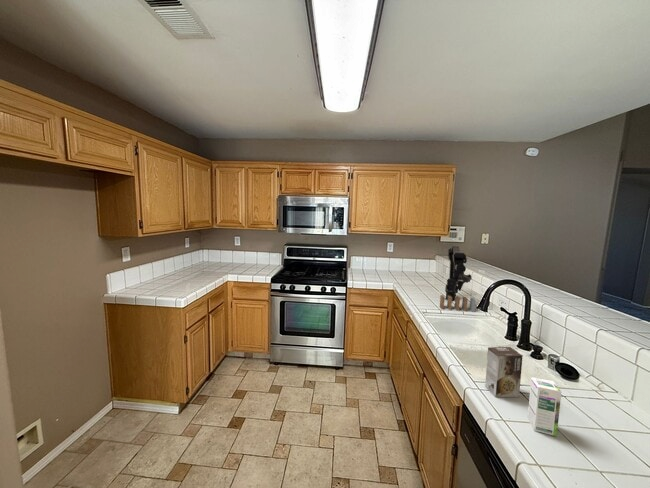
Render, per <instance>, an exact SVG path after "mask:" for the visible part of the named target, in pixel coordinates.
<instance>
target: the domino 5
mask: <svg viewBox="0 0 650 488" xmlns="http://www.w3.org/2000/svg"><path fill="white" fill-rule="evenodd" d="M469 299H470V300H469V311H470V312H472V313H475V311H476V310H475V309H476V299H475V298H474V297H470V298H469Z"/></svg>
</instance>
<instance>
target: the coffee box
mask: <svg viewBox="0 0 650 488" xmlns="http://www.w3.org/2000/svg"><path fill="white" fill-rule="evenodd" d="M522 367H523V355H522V354H521V353H520V352H518V351H517V350H516V349H514V348H512V347H511V346H498V347H497V346H496V347H495V346H492V347H491V346H489V347H487V358H486V371H485V383H484V388H486V390H488V391H489V393H491V394H492V395H493V397H494V398H515V397H516V398H519V397H520V390H521V388H520V387H521V380H522V379H521V377H522V369H523V368H522Z"/></svg>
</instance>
